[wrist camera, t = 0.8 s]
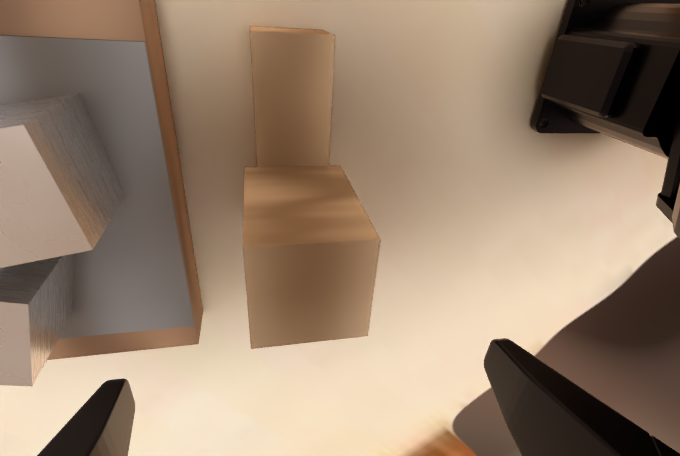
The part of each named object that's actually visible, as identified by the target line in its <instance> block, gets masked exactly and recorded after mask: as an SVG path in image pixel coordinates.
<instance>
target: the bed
mask: <svg viewBox="0 0 680 456" xmlns="http://www.w3.org/2000/svg"><path fill="white" fill-rule="evenodd" d="M73 93H80V94H81V96H82V99H83V101H84V103H85V105H86V107H87V110H88V112H89V114H90V116H91V118H92V121H93V123H94V125H95V127H96V129H97V132H98V134H99V136H100V138H101V140H102V143H103V145H104V147H105V149H106V151H107V154H108V156H109V158H110V160H111V162H112V164H113V167H114V169H115V171H116V173H117V175H118V178H119V180H120V182H121V184H122V186H123V189H124V191H125V193H126V196H125V198H124V200H123V201H122V203H121V204H120V206H119V208H118V209H117V211H116V213H115V214H114V216H113V218H112V219H111V221H110V222H109V224H108V226H107V227H106V229H105V231H104V232H103V234H102V236H101V237H100V239H99V240H98V242H97V244H96V245H95V247H94V249H93V250H90V251H85V252H80V253H74V286H73V313H72V315H71V317H70V319H69V321H68V322H67V324H66V326H65V328H64V330H63V331H62V333H61V335H60V337H59V339H58V340H57V342H56V344H55V346H54V348H53V350H52V351H51V353H50V355H49V357H48V359H47V360H51V359H61V358H70V357H80V356H89V355H99V354H108V353H118V352H127V351H137V350H146V349H156V348H165V347H175V346H184V345H194V344H198V343H199V336H200V329H201V322H202V315H203V309H202V302H201V296H200V289H199V283H198V276H197V270H196V264H195V257H194V251H193V244H192V238H191V232H190V225H189V219H188V212H187V206H186V200H185V193H184V187H183V180H182V174H181V168H180V161H179V155H178V148H177V142H176V136H175V129H174V123H173V116H172V110H171V103H170V97H169V91H168V84H167V78H166V71H165V65H164V59H163V52H162V46H161V39H160V33H159V27H158V20H157V14H156V7H155V1H154V0H0V105H1V104H7V103H14V102H20V101H27V100H33V99H40V98H47V97H53V96H60V95H66V94H73Z"/></svg>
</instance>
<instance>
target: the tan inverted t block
mask: <svg viewBox="0 0 680 456" xmlns="http://www.w3.org/2000/svg"><path fill="white" fill-rule="evenodd" d="M250 39H251V59H252V79H253V98H254V118H255V138H256V157H257V167H245V171H244V223H243V253H244V266H245V279H246V291H247V304H248V317H249V329H250V342H251V349H254V348H263V347H272V346H281V345H290V344H299V343H308V342H317V341H326V340H335V339H344V338H353V337H362V336H368V330H369V322H370V315H371V307H372V300H373V292H374V284H375V277H376V269H377V262H378V254H379V247H380V238H379V236H378V234H377V232H376V230H375V228H374V227H373V225H372V223H371V221H370V219H369V217H368V216H367V214H366V212H365V210H364V208H363V206H362V205H361V203H360V201H359V199H358V197H357V195H356V194H355V192H354V190H353V188H352V186H351V184H350V183H349V181H348V179H347V177H346V175H345V173H344V172H343V170H342V168H341V166H329V152H330V131H331V110H332V89H333V68H334V47H335V35H333V34H330V33H328V32H326V31H324V30H316V29H298V28H279V27H261V26H250Z"/></svg>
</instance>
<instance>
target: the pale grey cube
mask: <svg viewBox="0 0 680 456" xmlns="http://www.w3.org/2000/svg"><path fill="white" fill-rule="evenodd" d="M125 196H126V193H125V191H124V189H123V186H122V184H121V182H120V180H119V178H118V175H117V173H116V171H115V169H114V167H113V164H112V162H111V160H110V158H109V156H108V154H107V151H106V149H105V147H104V145H103V143H102V140H101V138H100V136H99V134H98V132H97V129H96V127H95V125H94V123H93V121H92V118H91V116H90V114H89V112H88V110H87V107H86V105H85V103H84V101H83V99H82V96H81V94H80V93H73V94H66V95H60V96H53V97H47V98H40V99H33V100H27V101H20V102H14V103H7V104H1V105H0V268H3V267H8V266H13V265H18V264H24V263H29V262H34V261H39V260H44V259H49V258H54V257H59V256H64V255H69V254H74V253H80V252H85V251H90V250H93V249H94V247H95V245H96V244H97V242H98V240H99V239H100V237H101V236H102V234H103V232H104V231H105V229H106V227H107V226H108V224H109V222H110V221H111V219H112V218H113V216H114V214H115V213H116V211H117V209H118V208H119V206H120V204H121V203H122V201H123V200H124V198H125Z"/></svg>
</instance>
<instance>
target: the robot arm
mask: <svg viewBox="0 0 680 456" xmlns="http://www.w3.org/2000/svg"><path fill="white" fill-rule="evenodd" d="M579 3H580V0H569V2H568V5H567V8H566V11H565V15H564V18H563V21H562V24H561V28H560V31H559V34H558V37H557V41H556V44H555V47H554V50H553V54H552V57H551V60H550V63H549V66H548V70H547V73H546V76H545V79H544V83H543V86H542V89H541V92H540V96H539V99H538V102H537V105H536V109H535V112H534V115H533V118H532V121H531V127H532V129H533V130H534V131H537V132H539V133H603V134H605V135H608V136H610V137H613V138H616V139H618V140H621V141H623V142H626V143H629V144H631V145H634V146H636V147H639V148H641V149H644V150H647V151H649V152H652V153H654V154H657V155H659V156H662V157H665V158H667V159H668V163H667V167H666V172H665V177H664V182H663V187H662V191H661V193H659V194H658V197H657V202H656V206H657V207H658V208H659V209H660V210H661V211H662V212H663V214H664V215H665V216H666V217H667V218H668V219H669V220H670V221H671V222H672V223H673V229H674V232H675V234H676V235H677V236H678V237H679V239H680V0H583V3H582V5H581V6H580V5H579ZM542 120H544V123H543V124H542V125H541V126H540V123H541V121H542ZM484 368H485V371H486V374H487V376H488V379H489V381H490V384H491V387H492V389H493V392H494V394H495V397H496V399H497V402H498V405H499V407H500V410H501V412H502V415H503V417H504V420H505V422H506V424H507V426H508V429H509V431H510V433H511V435H512V437H513V439H514V441H515V443H516V445H517V447H518V448H519V451H520V453H521V455H522V456H680V454H679V453H678V452H676V451H675V450H673V449H672V448H670V447H669V446H667V445H666V444H664V443H663V442H661V441H660V440H658V439H656V438H655V437H654V436H650V435H649V433H648V432H646V431H645V430H643V429H642V428H640V427H639V426H637V425H636V424H634V423H633V422H631V421H630V420H628V419H627V418H625V417H624V416H623V415H621V414H620V413H618V412H616V411H615V410H614V409H612V408H611V407H609V406H608V405H606V404H605V403H603V402H602V401H600V400H599V399H597V398H596V397H594V396H593V395H591V394H590V393H588V392H587V391H585V390H584V389H582V388H581V387H579V386H578V385H576V384H575V383H573V382H572V381H570V380H569V379H567V378H566V377H564V376H563V375H562V374H560V373H559V372H557V371H556V370H554V369H553V368H551V367H549V366H548V365H547V364H545V363H544V362H542V361H541V360H539V359H538V358H536V357H535V356H533V355H532V354H530V353H529V352H527V351H526V350H524V349H523V348H521V347H520V346H518V345H517V344H515V343H514V342H512V341H511V340H509V339H506V338H503V339H494V340H492V341H491V343H490V345H489V348H488V351H487V353H486V356H485V359H484ZM134 413H135V401H134V398H133V395H132V391H131V388H130V385H129V382H128V380H126V379H115V380H108V381H106V382H105V383H103V384H102V385H101V387H100V388H99V389H98V390H97V391H96V392H95V393H94V394H93V395H92V396H91V397H90V399H89V400H88V401H87V402H86V403H85V404H84V405H83V406H82V407H81V408H80V409H79V411H78V412H77V413H76V414H75V415H74V416H73V417H72V418H71V419H70V420H69V422H68V423H67V424H66V425H65V426H64V427H63V428H62V429H61V430H60V431H59V432H58V434H57V435H56V436H55V437H54V438H53V439H52V440H51V441H50V442H49V443H48V444H47V446H46V447H45V448H44V449H43V450H42V451H41V452H40V453H39V454H38V455H37V456H128V450H129V444H130V438H131V432H132V426H133V419H134Z"/></svg>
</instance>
